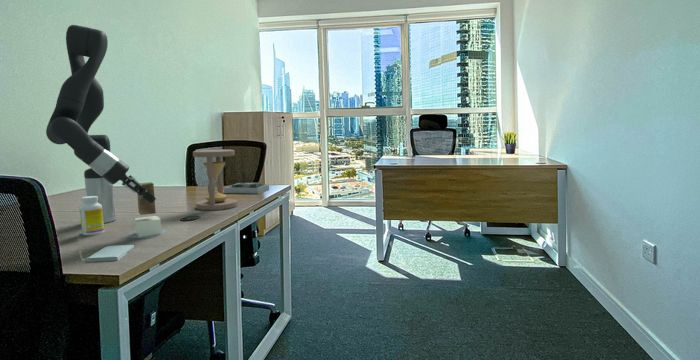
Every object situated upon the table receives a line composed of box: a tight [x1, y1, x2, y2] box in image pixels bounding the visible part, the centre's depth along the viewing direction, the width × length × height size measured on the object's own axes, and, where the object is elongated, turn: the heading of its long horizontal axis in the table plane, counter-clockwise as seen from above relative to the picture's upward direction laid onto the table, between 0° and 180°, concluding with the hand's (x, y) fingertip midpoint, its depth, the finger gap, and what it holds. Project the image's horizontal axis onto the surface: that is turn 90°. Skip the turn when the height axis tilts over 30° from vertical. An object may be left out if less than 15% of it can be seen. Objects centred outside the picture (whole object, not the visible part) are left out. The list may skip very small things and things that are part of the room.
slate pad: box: [122, 228, 172, 239], centre depth 151 cm, size 11×12×1 cm
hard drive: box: [85, 244, 135, 263], centre depth 128 cm, size 2×8×12 cm
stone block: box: [231, 181, 263, 188], centre depth 241 cm, size 9×14×5 cm, turn 77°
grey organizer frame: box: [223, 183, 270, 195], centre depth 244 cm, size 20×15×3 cm
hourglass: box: [192, 149, 238, 211], centre depth 198 cm, size 18×18×25 cm
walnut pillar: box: [136, 181, 157, 216], centre depth 149 cm, size 4×4×10 cm
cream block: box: [134, 215, 162, 237], centre depth 151 cm, size 7×7×5 cm
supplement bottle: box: [79, 195, 105, 236], centre depth 153 cm, size 7×7×13 cm
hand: (152, 199), depth 151 cm, fingers closed on walnut pillar, 4 cm apart
